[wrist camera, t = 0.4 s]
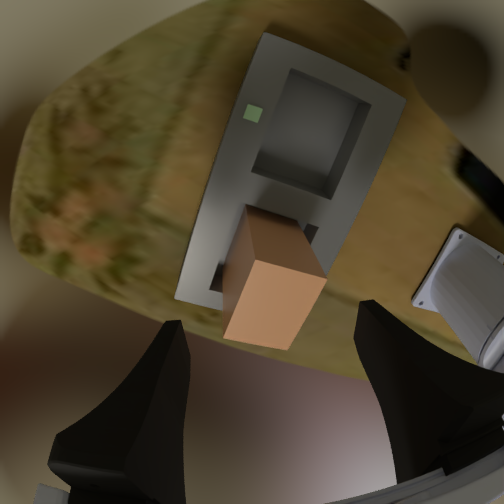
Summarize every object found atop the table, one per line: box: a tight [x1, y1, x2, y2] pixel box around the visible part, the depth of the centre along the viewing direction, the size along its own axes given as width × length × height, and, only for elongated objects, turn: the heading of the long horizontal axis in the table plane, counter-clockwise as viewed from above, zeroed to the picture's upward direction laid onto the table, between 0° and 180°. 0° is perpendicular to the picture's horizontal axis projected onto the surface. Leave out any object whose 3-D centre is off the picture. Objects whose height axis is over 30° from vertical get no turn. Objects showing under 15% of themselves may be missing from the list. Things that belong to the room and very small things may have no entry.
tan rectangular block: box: [222, 205, 327, 350], centre depth 18 cm, size 4×5×7 cm
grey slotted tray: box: [174, 32, 407, 311], centre depth 19 cm, size 9×17×3 cm, turn 160°
